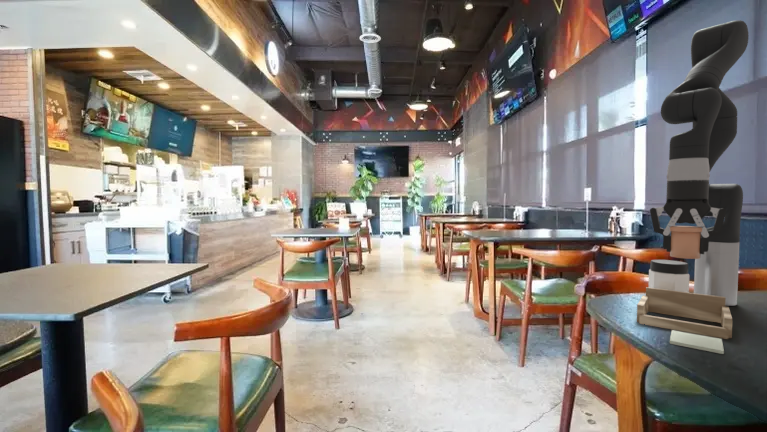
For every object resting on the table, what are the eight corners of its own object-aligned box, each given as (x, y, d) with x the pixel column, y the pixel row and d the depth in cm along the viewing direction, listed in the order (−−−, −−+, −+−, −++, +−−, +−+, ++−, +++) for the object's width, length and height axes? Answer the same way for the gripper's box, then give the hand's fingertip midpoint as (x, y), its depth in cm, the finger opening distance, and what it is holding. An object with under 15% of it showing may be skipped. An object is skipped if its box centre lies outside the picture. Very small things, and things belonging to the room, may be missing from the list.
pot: (668, 254, 92) (669, 225, 91) (702, 256, 88) (703, 226, 87) (667, 257, 87) (668, 226, 87) (702, 260, 83) (703, 228, 83)
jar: (692, 306, 102) (693, 262, 101) (683, 312, 96) (685, 265, 96) (652, 299, 108) (654, 258, 108) (643, 304, 103) (644, 261, 103)
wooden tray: (642, 309, 99) (643, 286, 98) (727, 322, 88) (728, 297, 88) (636, 323, 88) (636, 297, 87) (732, 340, 77) (733, 311, 77)
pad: (671, 332, 81) (671, 330, 81) (721, 341, 76) (721, 338, 76) (669, 343, 75) (669, 340, 75) (723, 354, 70) (723, 351, 70)
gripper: (728, 178, 85) (725, 253, 86) (650, 180, 94) (648, 248, 95) (731, 177, 79) (727, 257, 80) (647, 179, 88) (645, 251, 89)
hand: (684, 252), depth 87 cm, fingers closed on pot, 5 cm apart
